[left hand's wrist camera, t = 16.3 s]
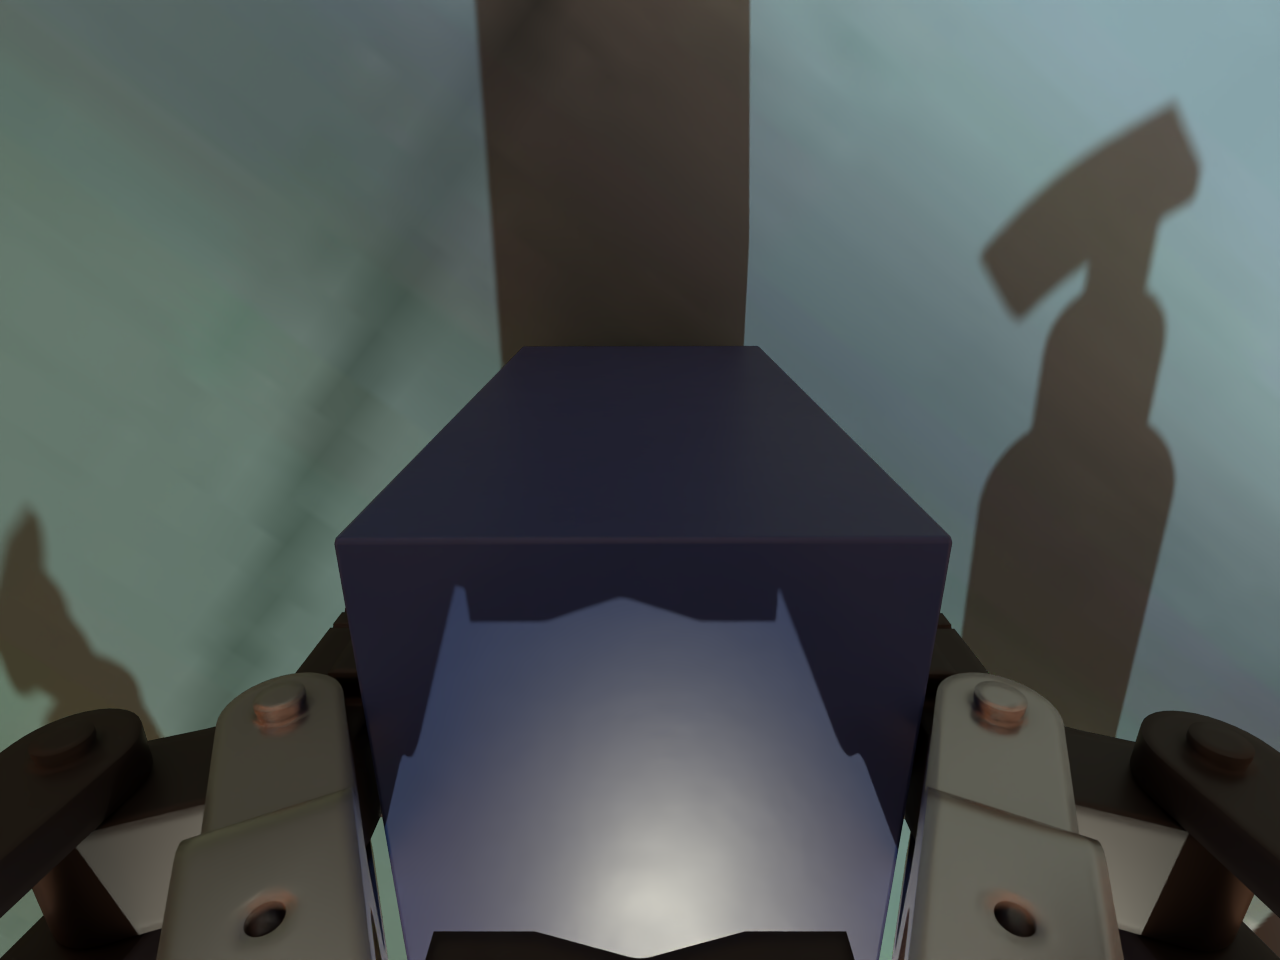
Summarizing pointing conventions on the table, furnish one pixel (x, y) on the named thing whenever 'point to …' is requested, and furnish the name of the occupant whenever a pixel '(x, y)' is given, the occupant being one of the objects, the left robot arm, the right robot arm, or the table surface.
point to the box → (643, 656)
